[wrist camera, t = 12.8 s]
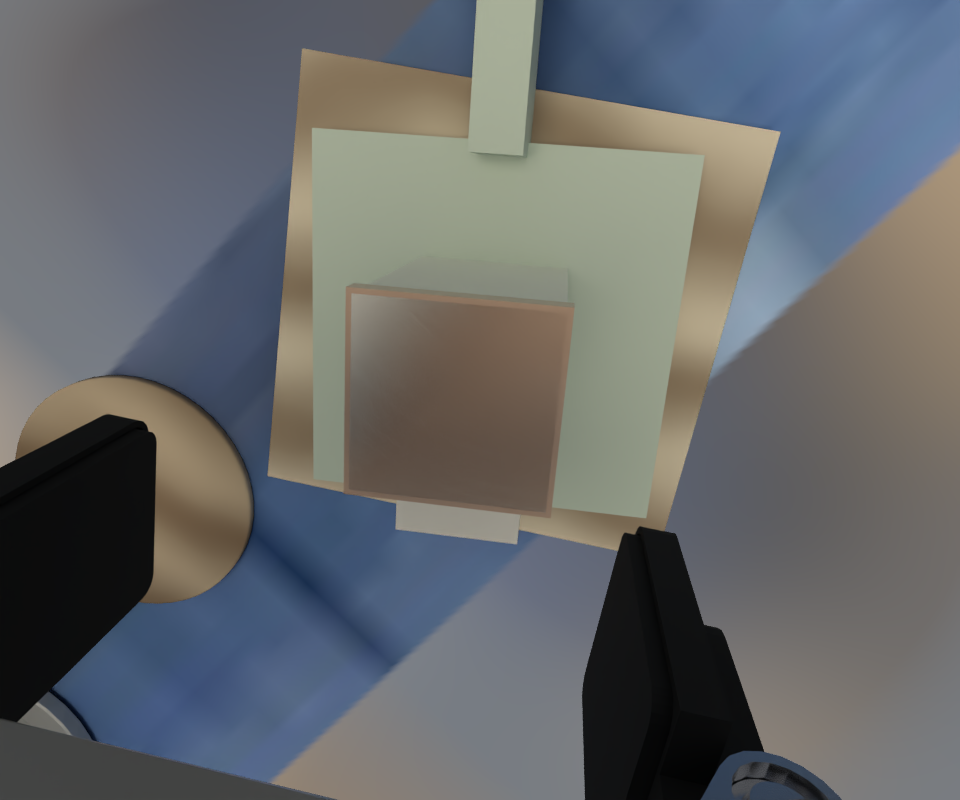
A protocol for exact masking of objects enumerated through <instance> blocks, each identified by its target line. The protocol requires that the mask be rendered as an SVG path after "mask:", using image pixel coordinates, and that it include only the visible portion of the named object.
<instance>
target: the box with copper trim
mask: <svg viewBox="0 0 960 800" xmlns="http://www.w3.org/2000/svg"><path fill="white" fill-rule="evenodd" d="M574 309H575V306H574V303H570V302H568V269H567V268H556V267H544V266H532V265H521V264H509V263H497V262H486V261H474V260H462V259H451V258H439V257H428V256H421V257H419V258H417V259H415V260H413V261H411V262H409V263H408V264H406V265H404V266H402V267H400V268H398V269H396V270H394V271H392V272H391V273H389V274H387V275H385V276H383V277H381V278H379V279H377V280H375V281H374V282H372V283H370V284H360V283H353V284H351V285H349V286H346V309H345V406H344V494H350V495H359V496H367V497H376V498H384V499H392V500H397V504H396V529H397V530H405V531H413V532H421V533H429V534H437V535H445V536H453V537H462V538H470V539H478V540H486V541H494V542H502V543H510V544H517V540H518V533H519V526H520V519H521V515H527V516H535V517H543V518H551V511H552V502H553V494H554V485H555V476H556V467H557V458H558V450H559V441H560V432H561V423H562V414H563V405H564V397H565V388H566V379H567V370H568V361H569V353H570V344H571V335H572V326H573V317H574Z"/></svg>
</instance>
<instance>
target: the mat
mask: <svg viewBox="0 0 960 800" xmlns="http://www.w3.org/2000/svg"><path fill="white" fill-rule="evenodd" d="M106 414H111V415H116V416H120V417H125V418H130V419H135V420H139V421H143V422H144V423H145V424H146V425H147V427H148V430H149V432H153V433H154V434H155V437H156V441H157V452H156V494H155V535H154V574H153V580H152V583H151V586H150V588H149V590H148V592H147V594H146V595H145V596H144V597H143V599H142V600H141V601H139V602H142V603H171V602H177V601H182V600H186V599H189V598H192V597H194V596H197V595H199V594H201V593H203V592H205V591H207V590H209V589H210V588H212V587H213V586H214V585H216V584H217V583H218V582H220V581H221V580H222V579H223V578H224V577H225V576H226V575H227V574H228V573H229V571H230V570H231V569H232V568H233V567H234V566H235V564H236V563H237V561H238V560H239V559H240V557H241V556H242V554H243V552H244V550H245V548H246V546H247V544H248V541H249V537H250V534H251V531H252V524H253V518H254V501H253V494H252V487H251V483H250V480H249V476H248V472H247V470H246V468H245V465H244V463H243V460H242V458H241V456H240V454H239V452H238V451H237V449H236V447H235V445H234V444H233V442H232V441H231V439H230V438H229V437H228V435H227V434H226V432H225V431H224V430H223V429H222V428H221V426H220V425H219V424H218V423H217V422H216V421H215V420H214V419H213V418H212V417H211V416H210V415H209V414H208V413H207V412H206V411H204V410H203V409H202V408H201V407H200V406H199V405H197V404H196V403H194V402H193V401H191V400H190V399H189V398H187V397H186V396H184V395H182V394H180V393H179V392H177V391H175V390H173V389H171V388H169V387H166V386H164V385H162V384H159V383H157V382H154V381H150V380H146V379H143V378H138V377H131V376H124V375H106V376H99V377H92V378H89V379H85V380H82V381H78V382H76V383H74V384H71V385H69V386H67V387H65V388H63V389H60V390H58V391H57V392H55V393H54V394H52V395H51V396H49V397H48V398H46V399H45V400H44V401H43V402H42V403H41V404H40V405H39V406H38V407H37V408H36V409H35V411H34V412H33V413H32V415H31V416H30V417H29V419H28V421H27V422H26V424H25V426H24V428H23V430H22V433H21V436H20V439H19V442H18V446H17V452H16V459H18V458H20V457H22V456H24V455H26V454H28V453H30V452H32V451H34V450H36V449H38V448H40V447H42V446H44V445H46V444H48V443H50V442H52V441H54V440H56V439H58V438H60V437H61V436H63V435H65V434H67V433H69V432H71V431H73V430H75V429H77V428H79V427H81V426H83V425H85V424H87V423H89V422H91V421H93V420H95V419H97V418H99V417H101V416H103V415H106ZM16 459H15V460H16Z"/></svg>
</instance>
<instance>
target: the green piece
mask: <svg viewBox="0 0 960 800" xmlns="http://www.w3.org/2000/svg"><path fill="white" fill-rule="evenodd" d="M542 10H543V0H477V6H476V22H475V38H474V55H473V71H472V87H471V104H470V120H469V137H468V139H466V138H451V137H437V136H423V135H408V134H394V133H380V132H365V131H351V130H337V129H322V128H312V257H313V479H316V480H324V481H333V482H341V483H344V406H345V309H346V286H349V285H351V284H353V283H360V284H370V283H372V282H374V281H375V280H377V279H379V278H381V277H383V276H385V275H387V274H389V273H391V272H392V271H394V270H396V269H398V268H400V267H402V266H404V265H406V264H408V263H409V262H411V261H413V260H415V259H417V258H419V257H421V256H428V257H439V258H451V259H462V260H474V261H486V262H497V263H509V264H521V265H532V266H544V267H556V268H567V269H568V302H570V303H574V306H575V309H574V317H573V326H572V335H571V344H570V353H569V361H568V370H567V379H566V388H565V397H564V405H563V414H562V423H561V432H560V441H559V450H558V458H557V467H556V476H555V485H554V494H553V502H552V507H553V508H562V509H570V510H579V511H587V512H596V513H604V514H613V515H621V516H630V517H638V518H646V517H647V511H648V504H649V498H650V492H651V486H652V480H653V473H654V467H655V461H656V455H657V449H658V442H659V436H660V430H661V424H662V418H663V411H664V405H665V399H666V393H667V386H668V380H669V374H670V368H671V362H672V355H673V349H674V343H675V337H676V331H677V324H678V318H679V312H680V306H681V300H682V293H683V287H684V281H685V275H686V269H687V262H688V256H689V250H690V244H691V238H692V231H693V225H694V219H695V213H696V207H697V200H698V194H699V188H700V182H701V176H702V169H703V163H704V157H705V155H695V154H681V153H666V152H652V151H638V150H623V149H609V148H595V147H580V146H566V145H552V144H537V143H531V136H532V124H533V113H534V101H535V90H536V78H537V67H538V56H539V44H540V33H541V21H542Z"/></svg>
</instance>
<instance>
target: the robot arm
mask: <svg viewBox="0 0 960 800" xmlns="http://www.w3.org/2000/svg"><path fill="white" fill-rule="evenodd" d="M156 452H157V441H156V437H155V434H154V433H153V432H149V430H148V427H147V425H146V424H145V423H144V422H143V421H139V420H135V419H130V418H125V417H120V416H116V415H111V414H106V415H103V416H101V417H99V418H97V419H95V420H93V421H91V422H89V423H87V424H85V425H83V426H81V427H79V428H77V429H75V430H73V431H71V432H69V433H67V434H65V435H63V436H61V437H60V438H58V439H56V440H54V441H52V442H50V443H48V444H46V445H44V446H42V447H40V448H38V449H36V450H34V451H32V452H30V453H28V454H26V455H24V456H22V457H20V458H18V459H16V460H14V461H12V462H10V463H8V464H7V465H5V466H3V467H1V468H0V800H336V799H332V798H328V797H324V796H320V795H316V794H312V793H308V792H303V791H299V790H295V789H291V788H287V787H283V786H279V785H275V784H271V783H266V782H262V781H258V780H254V779H250V778H246V777H242V776H238V775H233V774H229V773H225V772H221V771H217V770H213V769H209V768H204V767H200V766H196V765H192V764H188V763H184V762H180V761H176V760H171V759H167V758H163V757H159V756H155V755H151V754H147V753H143V752H138V751H134V750H130V749H126V748H122V747H118V746H113V745H109V744H105V743H101V742H97V741H93V740H92V739H91V737H90V735H89V734H88V732H87V731H86V729H85V728H84V726H83V725H82V723H81V722H80V720H79V719H78V718H77V717H76V716H75V715H74V714H73V713H72V712H71V711H70V710H69V708H68V707H67V706H66V705H65V704H63V703H62V702H61V701H60V700H59V699H57V698H56V697H55V696H54V695H53V694H51V693H50V692H49V690H50V689H51V688H52V687H53V686H54V685H55V684H56V683H57V682H58V681H60V680H61V679H62V678H63V677H64V676H65V675H66V674H67V673H68V672H69V671H70V670H71V669H72V668H73V667H74V666H75V665H76V664H77V663H78V662H79V661H80V660H81V659H82V658H83V657H84V656H85V655H86V654H87V653H88V652H89V651H90V650H91V649H92V648H93V647H94V646H95V645H96V644H97V643H98V642H99V641H100V640H101V639H102V638H103V637H104V636H105V635H106V634H107V633H108V632H109V631H110V630H111V629H112V628H113V627H114V626H115V625H116V624H117V623H118V622H119V621H120V620H121V619H122V618H123V617H124V616H125V615H126V614H127V613H128V612H129V611H130V610H131V609H132V608H133V607H134V606H135V605H136V604H137V603H138V602H139V601H141V600H142V599H143V597H144V596H145V595H146V594H147V592H148V590H149V588H150V586H151V583H152V580H153V574H154V535H155V494H156ZM582 706H583V740H584V742H583V743H584V775H585V776H584V777H585V800H841V798H840V797H839V796H838V795H837V794H836V793H835V792H834V791H833V790H832V789H831V788H830V787H829V786H828V785H827V784H826V783H825V782H824V781H822V780H821V779H819V778H818V777H817V776H815V775H814V774H812V773H811V772H809V771H808V770H806V769H805V768H804V767H802V766H800V765H798V764H796V763H794V762H792V761H790V760H787V759H785V758H783V757H781V756H777V755H773V754H769V753H766V752H764V749H763V746H762V744H761V741H760V738H759V735H758V732H757V729H756V726H755V723H754V720H753V717H752V714H751V712H750V709H749V706H748V703H747V700H746V697H745V694H744V691H743V688H742V685H741V682H740V679H739V676H738V674H737V671H736V668H735V665H734V662H733V659H732V656H731V653H730V650H729V647H728V644H727V641H726V639H725V636H724V634H723V632H722V630H720V629H718V628H716V627H711V626H707V625H704V624H703V621H702V617H701V614H700V611H699V607H698V604H697V601H696V598H695V594H694V591H693V588H692V585H691V581H690V578H689V575H688V571H687V568H686V565H685V561H684V558H683V555H682V552H681V549H680V545H679V542H678V538H677V536H676V534H675V533H669V532H665V531H660V530H656V529H651V528H646V527H641V526H639V527H638V528H637V531H636V533H635V534H630V533H624V534H623V536H622V538H621V542H620V545H619V549H618V553H617V557H616V560H615V564H614V568H613V571H612V575H611V579H610V582H609V586H608V590H607V594H606V598H605V601H604V605H603V608H602V612H601V616H600V620H599V623H598V627H597V631H596V634H595V638H594V642H593V646H592V649H591V653H590V657H589V660H588V664H587V668H586V672H585V676H584V682H583V691H582Z"/></svg>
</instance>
